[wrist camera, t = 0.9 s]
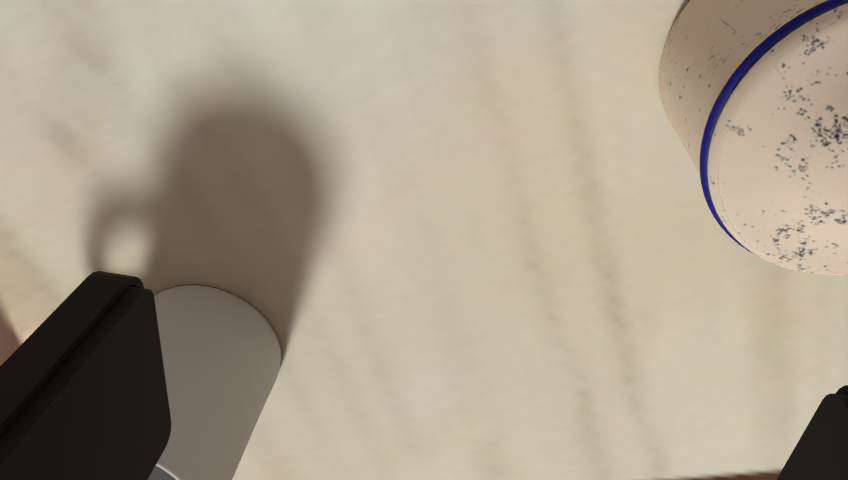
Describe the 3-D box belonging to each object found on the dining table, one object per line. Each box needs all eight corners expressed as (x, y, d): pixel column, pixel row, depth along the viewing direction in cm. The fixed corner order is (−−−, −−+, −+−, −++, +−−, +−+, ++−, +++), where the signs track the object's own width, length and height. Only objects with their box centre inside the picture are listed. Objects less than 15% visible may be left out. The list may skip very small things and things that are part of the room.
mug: (273, 287, 36) (190, 447, 26) (290, 402, 40) (224, 574, 31) (63, 274, 37) (-88, 423, 28) (102, 387, 41) (-16, 548, 32)
